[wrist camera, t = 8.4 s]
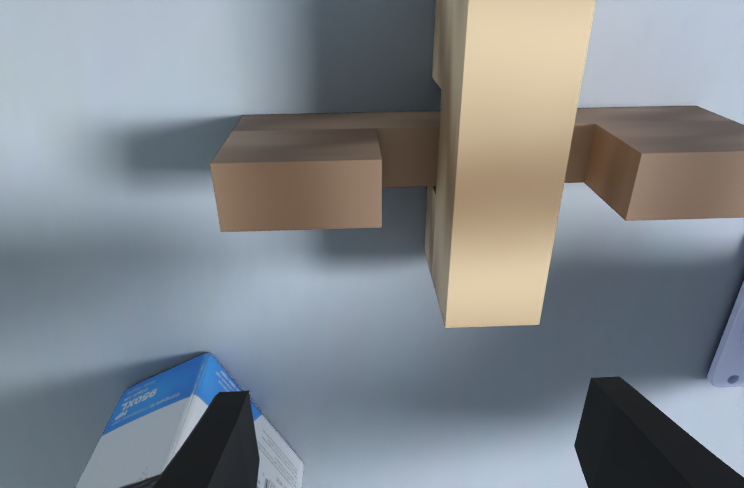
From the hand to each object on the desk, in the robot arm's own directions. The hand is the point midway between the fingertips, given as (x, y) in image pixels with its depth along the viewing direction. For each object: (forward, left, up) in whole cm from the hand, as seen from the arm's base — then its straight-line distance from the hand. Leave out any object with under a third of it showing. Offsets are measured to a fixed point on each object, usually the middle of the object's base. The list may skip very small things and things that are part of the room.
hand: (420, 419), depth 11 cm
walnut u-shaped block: (-3, -3, -10) cm, 11 cm away
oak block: (-3, -3, -10) cm, 11 cm away
